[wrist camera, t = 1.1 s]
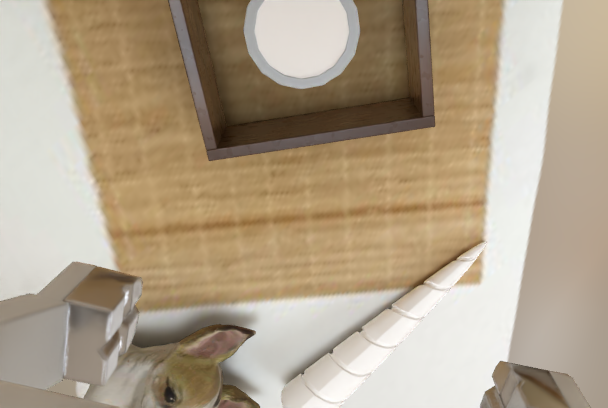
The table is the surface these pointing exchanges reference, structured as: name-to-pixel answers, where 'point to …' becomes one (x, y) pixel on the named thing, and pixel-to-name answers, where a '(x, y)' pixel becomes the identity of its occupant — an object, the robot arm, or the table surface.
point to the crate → (314, 125)
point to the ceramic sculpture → (177, 373)
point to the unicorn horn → (372, 342)
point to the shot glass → (301, 39)
